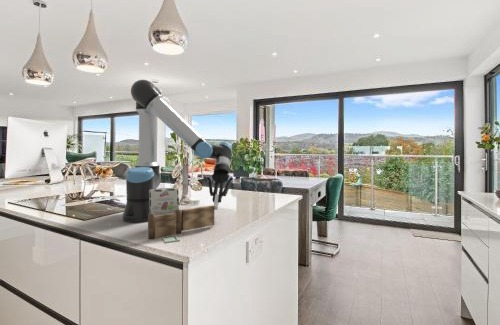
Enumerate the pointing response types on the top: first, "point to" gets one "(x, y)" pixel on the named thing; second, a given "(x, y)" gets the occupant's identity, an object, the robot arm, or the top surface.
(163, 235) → the fence base
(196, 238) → the top surface
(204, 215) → the fence gate
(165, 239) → the card
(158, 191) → the candy bar box
